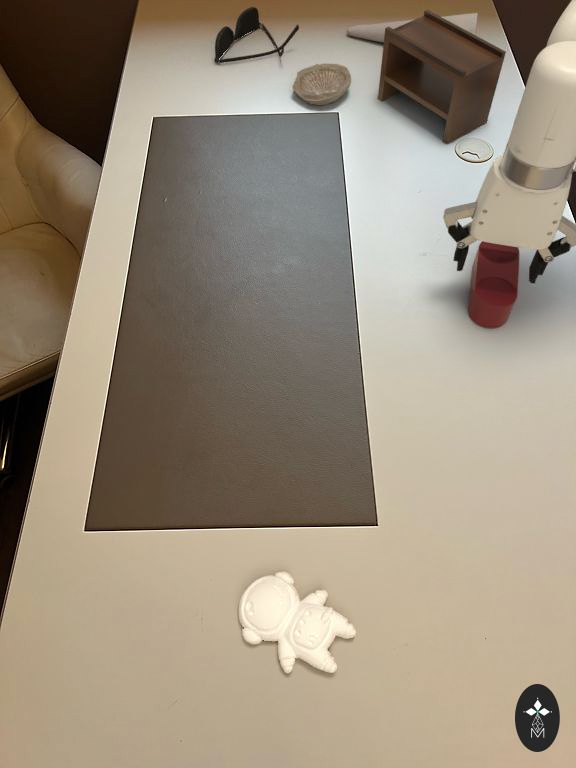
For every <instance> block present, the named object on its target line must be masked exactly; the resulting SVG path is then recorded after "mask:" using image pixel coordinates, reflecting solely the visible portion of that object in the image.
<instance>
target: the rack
mask: <svg viewBox="0 0 576 768" xmlns="http://www.w3.org/2000/svg"><path fill="white" fill-rule="evenodd" d="M442 17H443V16H440V15H439V14H436V13H435V12H433V11H431V10H429V9H425V10H424V12H423V15H422V16H420V17H418V18H415V19H412V20H413V21H411V22H408V23H406V24H404V25H401V26H399V27H397V28H395V29H392V28H390V27H386V28H385V35H384V43H383V46H382V54H381V55H382V56H381V63H380V73H379V82H378V83H379V84H378V93H377V99H378V100H379V101H381V102H383V101H385V100H388V99H389V98H392V97H394V96H395V95H398V94H400V93H403V94H404V95H406V96H408V97H409V98H411V99H413V101H415V102H417V103H419V104H420V105H422V106H423V107H424V108H427V109H428V110H430V111H431V112H433V113H435V114H436V115H438V116H439V117H441V118H442V119H444V120H446V123H445V126H444V132H443V137H442V142H443V143H444V144H446V145H449V144H451V143H452V142H454V141H455V140H458V139H460V138H461V137H463V136H465V135H467V134H469V133H471V132H472V131H474V130H477V129H479V128H480V127H482V126H484V125H486V124H487V123H488V120H489V116H490V113H491V108H492V105H493V102H494V98H495V94H496V91H497V87H498V84H499V83H498V82H499V79H500V75H501V71H502V69H503V64H504V62H505V57H506V54H507V53H506V52H507V51H506V50H504V49H502V48H500V47H498V46H496V45H495V44H493V43H490V42H489V41H487V40H486V39H484V38H481V37H480V36H477V34H476V35H474V34H472V33H470V32H468V31H466V30H465V29H463V28H461V27H459V26H457V25H455V24H453V23H451V22H450V21H448V20H446V19H444V18H442Z"/></svg>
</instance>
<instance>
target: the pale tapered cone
mask: <svg viewBox="0 0 576 768" xmlns="http://www.w3.org/2000/svg"><path fill="white" fill-rule="evenodd" d="M441 17H442V18H444V19H446V20H448V21H450V22H451V23H453V24H455V25H457V26H459V27H461V28H463V29H465V30H466V31H468V32H470V33H472V34H474V35H476V36H477V27H478V19H479V12H472V13H471V12H470V13H462V14H461V13H460V14H453V15H446V16H441ZM413 20H414V19H408V20H398V21H397V20H396V21H388V22H387V21H386V22H379V23H370V24H358V25H353V26H349V27H347V29H346V34H347V35H348V36H350V37H353V38H354V37H355V38H358V39H362V40H363V39H364V40H367V41H373V42H379V43H382V44H384V35H385V28H386V27H390V28H392V29H395V28H397V27H399V26H401V25H404V24H406V23H408V22H411V21H413Z"/></svg>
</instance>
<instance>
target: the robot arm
mask: <svg viewBox="0 0 576 768" xmlns="http://www.w3.org/2000/svg"><path fill="white" fill-rule="evenodd" d="M507 140H508V141H506V142H507V143H506V145H505V149H504V152H503V155H502V156H498V157H497V158H495V159H494V161H493V162H492V164H491V166H490V167H489V169H488V171H487V173H486V175H485V177H484V180H483V182H482V184H481V187H480V188H479V192H478V194H477V196H476V200H475V201H472V202H469V203H465V204H460V205H459V204H458V205H456V206H455V205H454V206H451V207H447V208H445V209H444V210H443V216H442V217H443V218H442V219H443V222H444V225H445V227H446V228H447V233H448V235H449V236H450V237H451V238H452V239H453V240H454V242H456V247H455V250H454V254H453V262H457V264H456V272H461V271H463V270H464V267H465V263H466V260H467V257H468V254H469V249H470V245H472V244H474V243H476V242H477V241H480V242H482V241H483V242H488V243H494V244H500V245H506V246H512V247H518V249H519V248H520V249H525V250H534V251H535V250H536V251H535V253H534V256H533V257H532V260H531V263H530V265H529V268H528V270H529V271H528V282H529V283H530V284H535V283H536V281H537V279H538V277H539V276H543V274H544V272H545V270H546V268H547V266H548V264H549V263H552V262H553V261H554V259H555V258H557V257H559V256H562V255H565V254H566V253H568V252H570V251H571V248H574V247H575V246H576V223H574V222H573V221H571V220H570V219H569V218H567V217H566V216H564V212H565V209H566V205H567V202H568V198H569V194H570V190H571V184H572V177H573V172H576V0H570V2H569V3H568V4H567V6H566V8H565V9H564V11H563V12H562V14H561V15H560V17H559V18H558V20H557V22H556V24H555V25H554V26H553V28H552V31H551V33H550V35H549V37H548V40H547V44H546V46H545V47H544V48H543V49H541V51H540V52H539V53H538V54H537V55H536V58H535V59H534V61H533V63H532V66H531V68H530V71H529V75H528V78H527V81H526V85H525V87H524V91H523V93H522V97H521V100H520V102H519V106H518V108H517V111H516V115H515V118H514V121H513V125H512V127H511V131H510V134H509V137H508V139H507ZM468 218H471V219H472V220H471V221H470V222H468V223H466V224H464V225H463V226H462V224H461V223H460V222H459V220H464V219H468ZM558 232H560V233H562V234H563V235H565V236H563V237H560V238H558V239H555V237H556V235H557V233H558ZM554 239H555V240H554Z"/></svg>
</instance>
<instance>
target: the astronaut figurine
mask: <svg viewBox="0 0 576 768" xmlns="http://www.w3.org/2000/svg"><path fill="white" fill-rule="evenodd" d="M328 597H329V594H328V591H326V590H325V589H318V590H316V591H315V592H311V593H309V594H308V595H307V596H306V597H304V598H303V599H302V600H301V599H300V596H299V593H298V591H297V589H296V587H295V580H294V577H293V576H292V575H291V574H290V573H289V572H286V571H277V572H276V573H274V575H271V574H268V575H264V576H261V577H259V578H257V579H256V580H254V581H253V582H252V583H250V584H249V585H248V586H247V587H246V589H245V590H244V591H243V593H242V595H241V597H240V600H239V604H238V620H239V623H240V625H241V627H242V630H241V635H242V638H243V640H244V641H245V642H246V643H248V644H250V645H259V644H261V643H262V642H265V641H272V642H275V641H278V642H277V656H278V660H279V664H280V666H281V668H282V669H283V671H284V673H285V674H290V673H291V672H293V669H294V667H295V663H296V659H301V660H302V661H304V662H306V663H308V665H310V666H312V668H313V667H314V668H315V669H318V670H321V671H322V672H325V673H330V674H334V673H336V671H337V669H338V664H337V662H336V659H335V658H334V657H333V656H332V655H331V653H330V652H329V650H328V649H329V648H330V646H331V645H332V644H333V642H334V640H335V638H336V637H340V638H342V639H346V640H347V639H352V638H354V637H356V634H357V630H356V628H355V627H354V625H353V623H349V619H348V618H347V617H345V616H344V615H342V614H341V613H339V612H337V611H335V610H334V608H333V607H332V606H325V604H326V602H327V599H328ZM243 627H244V629H243ZM262 640H264V641H262ZM261 641H262V642H261ZM260 642H261V643H260ZM295 658H296V659H295Z"/></svg>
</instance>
